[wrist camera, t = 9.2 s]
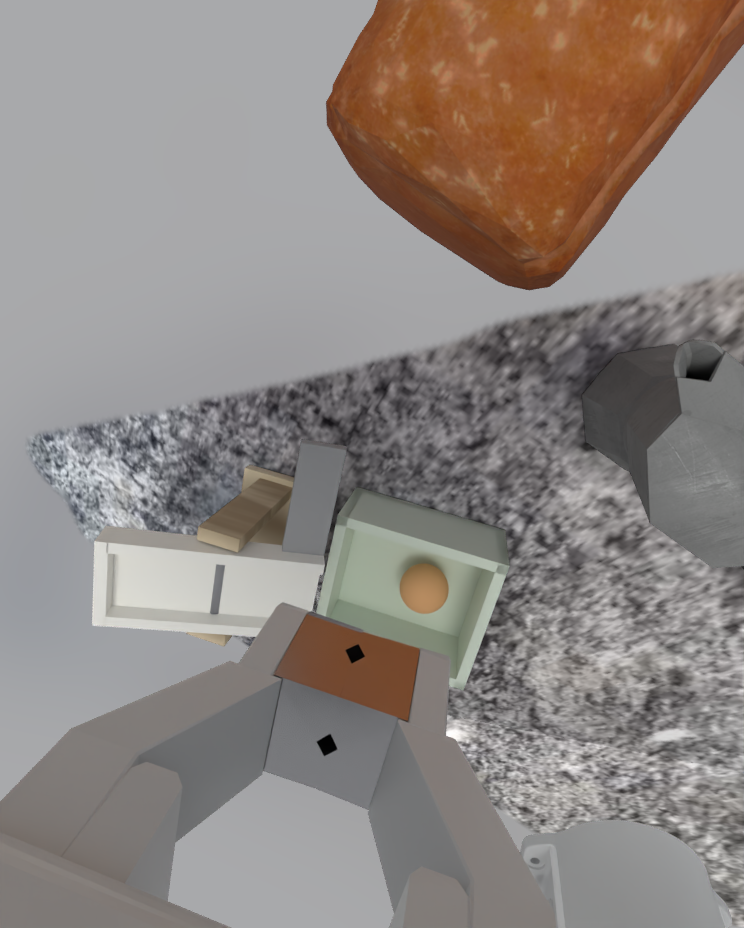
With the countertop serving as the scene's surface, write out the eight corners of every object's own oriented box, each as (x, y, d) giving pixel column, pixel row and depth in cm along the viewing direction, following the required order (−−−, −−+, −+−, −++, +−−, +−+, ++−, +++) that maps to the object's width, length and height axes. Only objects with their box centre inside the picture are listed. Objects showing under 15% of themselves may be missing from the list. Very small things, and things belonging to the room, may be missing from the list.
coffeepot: (540, 365, 36) (597, 417, 19) (671, 289, 33) (878, 269, 16) (638, 534, 38) (766, 715, 21) (769, 478, 35) (1041, 637, 18)
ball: (442, 629, 39) (393, 617, 39) (439, 599, 42) (395, 588, 43) (456, 587, 37) (405, 575, 37) (452, 560, 41) (406, 549, 41)
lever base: (294, 579, 46) (242, 658, 35) (235, 560, 46) (167, 632, 36) (314, 483, 42) (261, 539, 32) (249, 464, 43) (178, 513, 33)
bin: (464, 641, 44) (463, 690, 38) (330, 598, 45) (310, 639, 40) (504, 530, 40) (509, 566, 34) (356, 486, 41) (337, 514, 36)
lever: (307, 622, 38) (308, 641, 36) (103, 606, 35) (92, 626, 33) (345, 445, 33) (348, 456, 31) (110, 408, 30) (97, 417, 28)
